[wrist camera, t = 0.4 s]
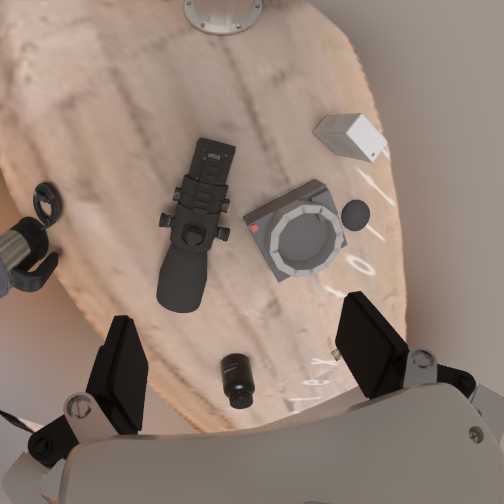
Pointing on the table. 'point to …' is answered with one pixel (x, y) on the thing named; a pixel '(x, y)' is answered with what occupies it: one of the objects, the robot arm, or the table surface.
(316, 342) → the table surface
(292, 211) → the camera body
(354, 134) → the skincare box
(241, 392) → the supplement bottle
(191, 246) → the rifle scope
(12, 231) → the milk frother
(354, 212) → the lens cap
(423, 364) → the robot arm
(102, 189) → the table surface
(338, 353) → the snack bar
